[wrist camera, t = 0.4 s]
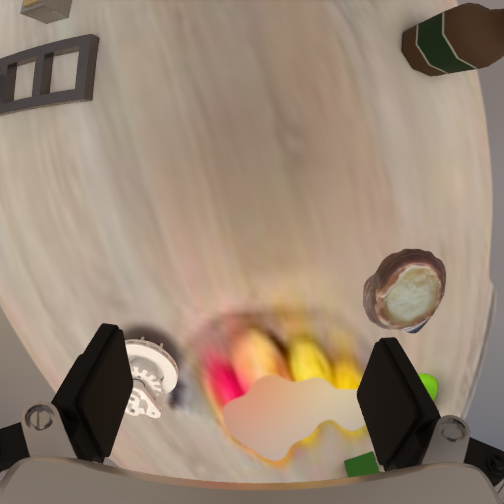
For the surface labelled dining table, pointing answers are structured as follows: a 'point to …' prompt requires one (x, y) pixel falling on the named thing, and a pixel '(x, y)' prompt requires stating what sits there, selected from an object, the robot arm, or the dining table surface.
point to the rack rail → (49, 74)
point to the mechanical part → (149, 377)
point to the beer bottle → (456, 40)
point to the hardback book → (361, 465)
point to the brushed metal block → (46, 9)
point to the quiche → (405, 290)
